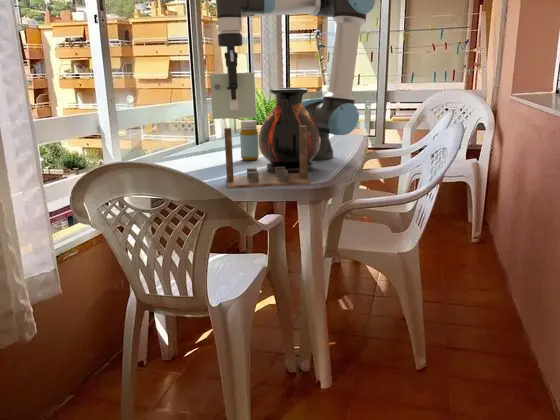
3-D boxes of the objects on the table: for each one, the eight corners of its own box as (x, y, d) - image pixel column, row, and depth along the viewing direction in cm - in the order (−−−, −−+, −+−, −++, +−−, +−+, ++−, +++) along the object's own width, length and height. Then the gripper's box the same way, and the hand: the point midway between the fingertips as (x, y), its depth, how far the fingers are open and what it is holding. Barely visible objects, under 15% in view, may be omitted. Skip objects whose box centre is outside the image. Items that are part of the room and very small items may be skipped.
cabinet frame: (303, 177, 162) (302, 123, 157) (310, 186, 150) (310, 128, 145) (226, 181, 159) (223, 126, 154) (228, 190, 147) (225, 131, 142)
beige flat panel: (255, 116, 164) (253, 72, 160) (256, 117, 160) (254, 72, 156) (212, 118, 162) (209, 73, 158) (212, 119, 158) (209, 74, 154)
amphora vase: (266, 163, 186) (264, 87, 178) (323, 164, 183) (323, 86, 175) (253, 176, 166) (250, 90, 158) (317, 177, 162) (317, 89, 154)
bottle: (239, 160, 194) (238, 121, 190) (243, 157, 201) (241, 119, 197) (257, 160, 193) (255, 121, 189) (260, 157, 200) (258, 119, 196)
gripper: (217, 34, 161) (221, 108, 168) (218, 31, 146) (222, 112, 152) (240, 34, 162) (243, 107, 169) (243, 31, 147) (247, 111, 153)
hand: (233, 109), depth 161 cm, fingers closed on beige flat panel, 3 cm apart
